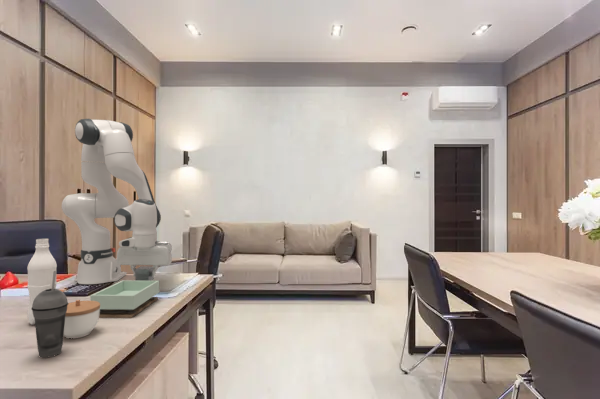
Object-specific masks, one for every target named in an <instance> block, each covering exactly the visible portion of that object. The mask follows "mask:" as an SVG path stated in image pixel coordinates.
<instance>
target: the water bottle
mask: <svg viewBox="0 0 600 399" xmlns="http://www.w3.org/2000/svg"><path fill="white" fill-rule="evenodd" d="M49 240H50V239H49V238H37V239H35V246H34V247H35V252H34V254H32V257H31V259H30V261H29V262H28V264H27V268H26V270H27V285H26V287H27V290H28V295H29V298H28V308H27V312H26V314H27V320H28V322H29V324H30V325H33V326H35V319H34V316H33V311H32V305H33V301H34V299H35V298H36V296H37V295H38V294H39V293H41V292H42V291H44V290H47V289H52V281H53V272H54V271H56V272H57V267H58V265H57V261H56V259H55V258H54V256H53V255H52V253H51V251H50V248H49V247H50V243H49ZM57 284H58V282H57V276H56V277H55V286H54V289H57Z"/></svg>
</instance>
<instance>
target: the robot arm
mask: <svg viewBox="0 0 600 399" xmlns="http://www.w3.org/2000/svg"><path fill="white" fill-rule="evenodd" d="M74 134H75V135H74V136H75V138H76V140H77V141H78V142H79V143H81V144H82V147H81V148H82V149H81V155H80V156H81V157H80V162H81V163H80V165H81V166H80V168H81V172H80V173H81V179H82V181H83V182H84V183H86V184H87V185H89V186H91V187H94V188H96V190H97V191H98V192H96V193H95V192H93V193H91V192H89V193H87V192H83V193H82V192H80V193H73V194H68V195H66V196H65V197H64V198H63V200H62V202H61V210H62V213H63V214H64V215H65V216H66V217H67V218H69V219H70V220H72V221H73V222H74V223H75V224H76V226H77V227H78V229H79V232H80V238H81V250H80V261H79V262H78V266H77V275H76V276H77V277H75V278H74V281H75V282H77V284H79V285H97V284H98V285H99V284H104V283H111V282H117V281H119V280H120V279H122V278H124V277H125V276H126V275H127V272H126V271H122V266H129V267H130V270H131V271H132V273H133V274H132V275H133V277H135V269H137V268H136V267H137V266H153V268H154V270H153V271H152V272H150V277H154V278H155V277H156V274H157V273H156V272H157V271H158V269H159V266H160V267H163V266H165V267H166V266H167V267H168V266H169V265H171V264H172V263H173V262H172V260H173V258H172V248H173V247H172V246H173V245H172V244H171V243H170V242H168V241H158V231H157V228H158V226H159V225H160V223H161V221H162V220H161V219H162V217H161V216H162V215H161V212H160V210H159V208H158V207H157V204H156V201H155V199H154V195H153V193H152V189H151V186H150V184H149V183H150V182H149V180H148V178H147V175H146V173H145V172H144V170H142V169H141V167H140V166H139V164H138V163H137V160H136V156H135V150H134V147H133V144H132V142H133V138H134V132H133V129H132V127H131V125H129V124H127V123H125V122H121V121H120V122H118V121H116V120H115V121H114V120H110V119H92V118H82V119H79V120H78V121H77V122H76V123H75V128H74ZM112 176H113V177H114V178H116V179H119V180H121V181H124V182H127V183H128V184H130V185H131V186H132V187H133V188H134V189H135V191H136V194H137V197H138V199H135V200H134V201H133V202H132V203H131V204H130V203H129V199H128V198H127V197H126V196H125V195H124V194H123V193H121V192H120V191H118V189H117V188H116V187H115V186H114V183H113V181H112ZM111 218H113V222H114V225H115V227H116V229H117V230H119V231H121V232H132V234H131V236H130V237H127V238H125V239H122V240H119V242H118V246H119V247H118V248H117V252H116V247H111V232H110V230H109V228H107V227H106V226H105V227H104V226H102V225H101V224H98V223H96V221H95V220H96V219H111ZM114 253H116V258H115V257H114V255H113V254H114Z"/></svg>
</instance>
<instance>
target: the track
mask: <svg viewBox="0 0 600 399" xmlns="http://www.w3.org/2000/svg"><path fill="white" fill-rule="evenodd" d="M157 300H159V297H158V296H153V297H152V298H150V299H149V300H147V301H146V302H144V303H143V304H141V305H140V306H138V307H137V308H135V309H133V310H132V311H127V310H126V309H105V310H103V311H100V315H99V319H102V318H103V319H107V318H108V319H109V318H110V319H112V318H113V319H124V318H125V319H132V318H134V317H135V316H136V315H138V314H139V313H140V312H142V311H143V310H145V309H146V308H148V307H149V306H150V305H152V304H153V303H154V302H156V301H157Z"/></svg>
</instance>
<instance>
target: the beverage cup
mask: <svg viewBox="0 0 600 399" xmlns="http://www.w3.org/2000/svg"><path fill="white" fill-rule="evenodd" d="M55 277H56V278H57V270H56V271H54V272H53V281H52V289H47V290H44V291H42V292H41V293H39V294H38V295H37V296H36V298H35V299H34V301H33V305H32V311H33V316H34V319H35V324H34V327H35V336H36V337H35V338H36V345H37V353H38V357H39V356H40V357H48V356H53V357H55V356H54V355H56V356H58V355H60V354H61V353H62V349H63V345H64V344H63V342H64V337H65V336H64V326H65V315H66V312H67V305H68V303H69V302H68V297H67V295H66V294H65V293H64V292H63V291H62V290H60V289H58V288H56V289H54V286H55ZM59 353H60V354H59ZM57 354H58V355H57ZM40 357H39V358H40ZM48 358H49V357H48Z"/></svg>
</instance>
